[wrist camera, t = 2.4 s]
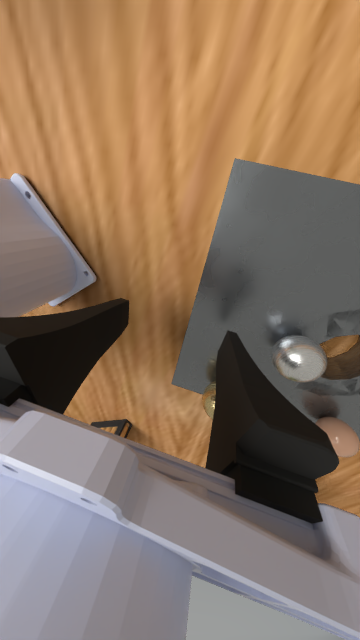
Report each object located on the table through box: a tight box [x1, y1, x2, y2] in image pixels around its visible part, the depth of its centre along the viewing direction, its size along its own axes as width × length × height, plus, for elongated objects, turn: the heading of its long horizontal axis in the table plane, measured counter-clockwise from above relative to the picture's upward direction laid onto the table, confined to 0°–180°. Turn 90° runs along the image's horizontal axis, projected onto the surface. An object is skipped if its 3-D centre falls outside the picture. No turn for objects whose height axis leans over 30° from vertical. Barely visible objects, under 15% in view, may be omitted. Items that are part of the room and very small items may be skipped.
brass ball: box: [202, 381, 216, 420], centre depth 16 cm, size 4×4×4 cm
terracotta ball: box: [315, 417, 360, 457], centre depth 15 cm, size 3×3×3 cm
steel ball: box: [271, 335, 327, 382], centre depth 12 cm, size 3×3×3 cm
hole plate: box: [172, 158, 360, 441], centre depth 14 cm, size 20×19×2 cm
